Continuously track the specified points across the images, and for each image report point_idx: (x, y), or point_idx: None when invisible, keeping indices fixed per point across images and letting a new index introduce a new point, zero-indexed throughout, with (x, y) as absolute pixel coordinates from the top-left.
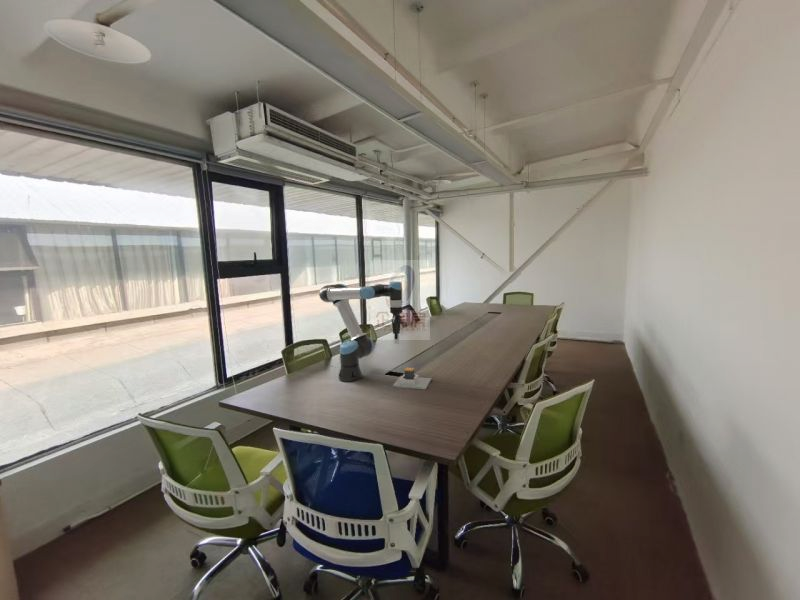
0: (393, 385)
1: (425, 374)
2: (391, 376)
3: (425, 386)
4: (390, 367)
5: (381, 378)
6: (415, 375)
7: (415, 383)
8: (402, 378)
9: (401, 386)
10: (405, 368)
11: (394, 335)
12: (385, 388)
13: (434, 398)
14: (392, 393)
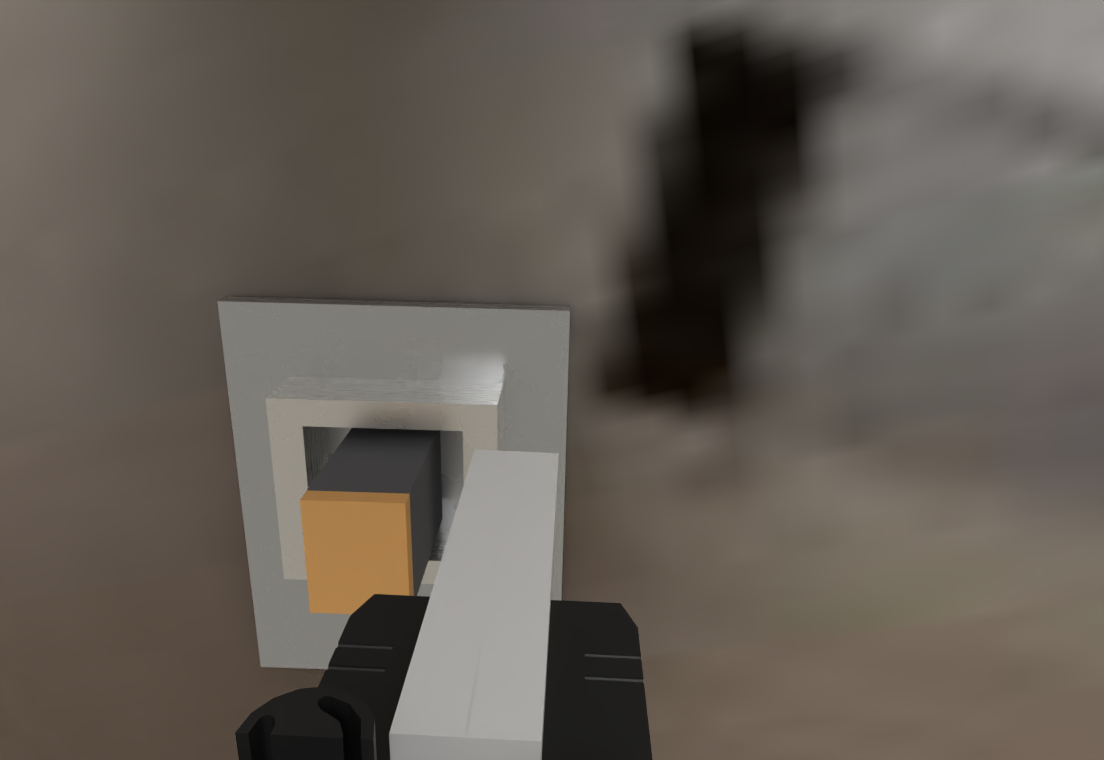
0: (219, 310)
1: (741, 578)
2: (611, 159)
3: (294, 658)
4: (1044, 9)
5: (503, 27)
6: None
7: None
8: (296, 429)
9: (232, 409)
10: (355, 506)
11: (413, 661)
12: (163, 212)
13: (96, 745)
14: (52, 343)
